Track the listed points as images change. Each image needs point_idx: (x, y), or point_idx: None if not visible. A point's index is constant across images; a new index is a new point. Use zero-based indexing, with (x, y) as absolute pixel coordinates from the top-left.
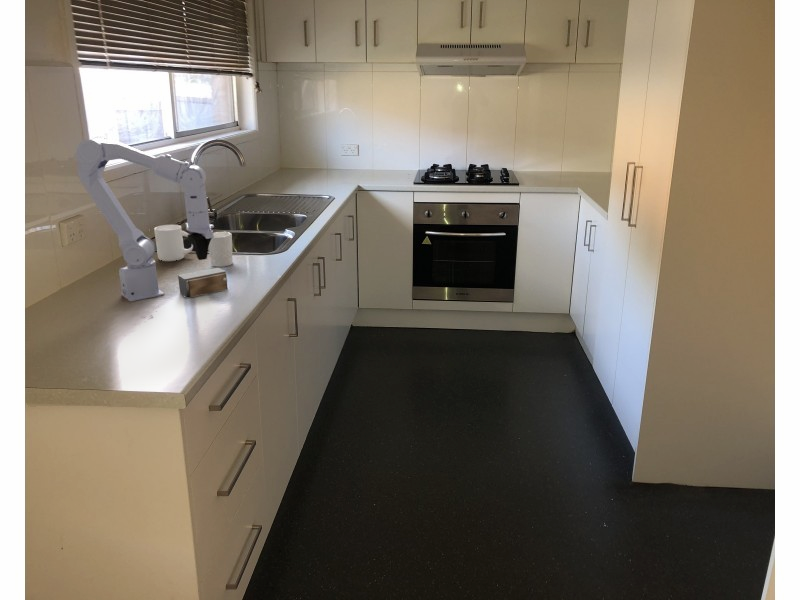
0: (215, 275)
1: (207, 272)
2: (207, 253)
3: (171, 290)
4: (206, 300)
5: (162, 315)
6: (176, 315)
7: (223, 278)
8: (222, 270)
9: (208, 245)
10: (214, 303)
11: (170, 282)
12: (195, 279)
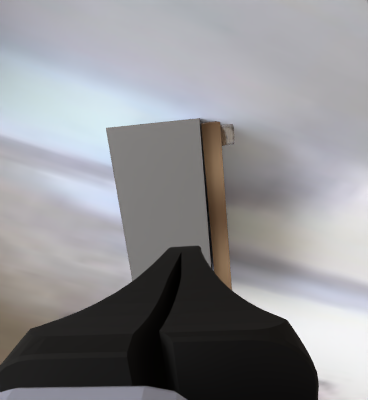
0: (217, 179)
1: (167, 203)
2: (201, 255)
3: (106, 283)
4: (280, 226)
5: (327, 362)
6: (356, 336)
7: (230, 142)
8: (173, 127)
9: (228, 289)
10: (331, 214)
11: (14, 261)
12: (226, 271)
